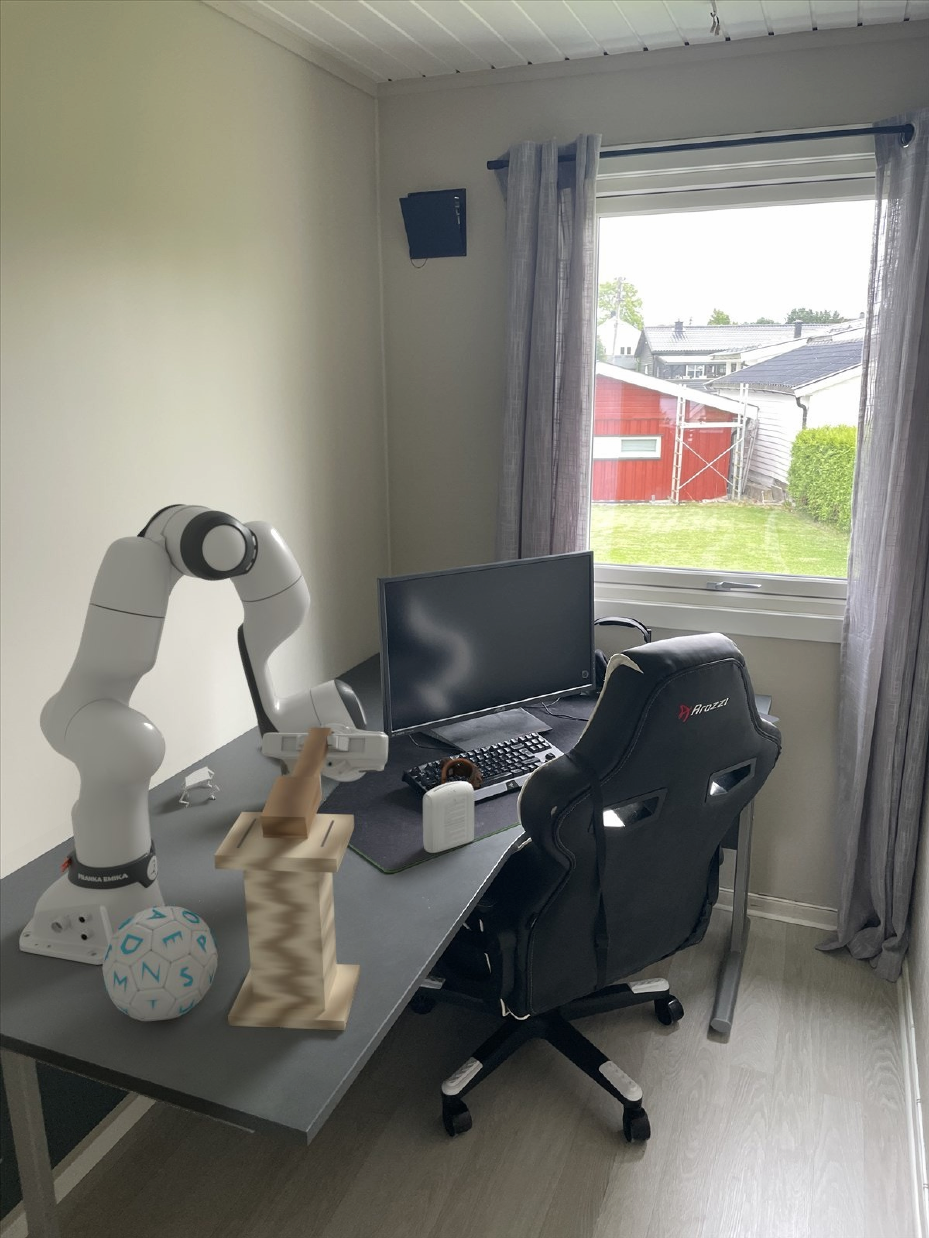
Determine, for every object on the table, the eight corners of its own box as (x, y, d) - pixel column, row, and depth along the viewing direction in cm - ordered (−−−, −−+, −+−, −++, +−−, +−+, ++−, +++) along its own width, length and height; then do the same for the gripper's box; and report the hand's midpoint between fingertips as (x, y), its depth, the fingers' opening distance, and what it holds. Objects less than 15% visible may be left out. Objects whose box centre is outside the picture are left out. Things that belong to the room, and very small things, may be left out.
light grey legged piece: (219, 807, 186) (217, 786, 185) (177, 810, 185) (175, 788, 184) (227, 782, 198) (225, 761, 196) (187, 784, 197) (185, 763, 196)
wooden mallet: (263, 837, 121) (260, 816, 120) (303, 738, 143) (300, 720, 141) (307, 838, 121) (305, 817, 119) (341, 739, 143) (339, 720, 141)
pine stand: (228, 1025, 124) (214, 854, 117) (254, 969, 135) (242, 811, 128) (344, 1030, 123) (336, 858, 116) (360, 973, 134) (353, 814, 127)
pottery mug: (494, 790, 194) (488, 768, 188) (463, 819, 190) (456, 797, 185) (457, 761, 201) (450, 739, 196) (426, 789, 198) (418, 766, 192)
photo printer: (465, 832, 176) (465, 773, 172) (477, 841, 172) (477, 781, 169) (419, 846, 170) (418, 786, 167) (431, 856, 167) (430, 795, 163)
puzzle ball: (192, 1052, 119) (182, 953, 115) (86, 1039, 121) (73, 942, 117) (238, 978, 133) (230, 888, 129) (143, 968, 136) (133, 880, 132)
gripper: (275, 730, 154) (251, 719, 140) (394, 733, 152) (382, 721, 139) (272, 768, 152) (248, 760, 139) (393, 770, 151) (380, 762, 137)
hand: (316, 740), depth 139 cm, fingers closed on wooden mallet, 3 cm apart
